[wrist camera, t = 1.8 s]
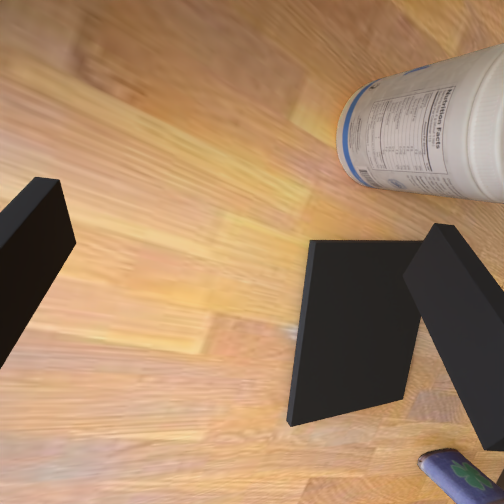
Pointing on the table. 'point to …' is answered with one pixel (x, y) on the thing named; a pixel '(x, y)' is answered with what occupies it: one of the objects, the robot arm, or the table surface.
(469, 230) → the table surface
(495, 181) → the supplement tub
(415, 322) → the mat
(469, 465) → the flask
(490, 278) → the robot arm
